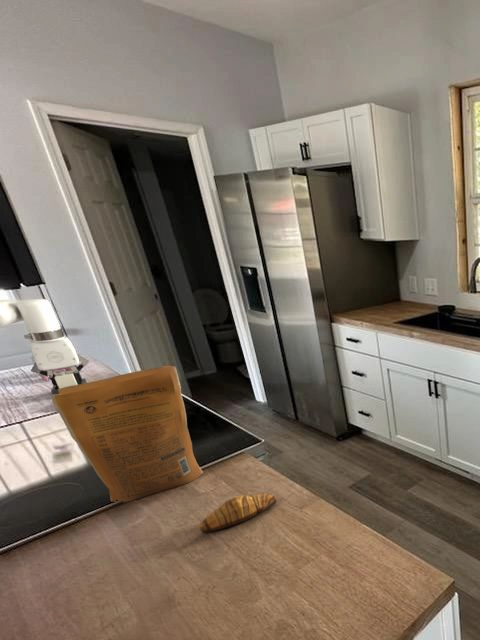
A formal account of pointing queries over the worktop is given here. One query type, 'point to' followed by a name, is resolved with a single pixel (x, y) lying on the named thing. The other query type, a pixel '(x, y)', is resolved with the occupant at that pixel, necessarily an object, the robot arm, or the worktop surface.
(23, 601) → the worktop surface
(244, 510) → the croissant
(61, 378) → the charger head
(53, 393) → the adapter
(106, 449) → the pancake mix bag
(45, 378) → the video game controller
